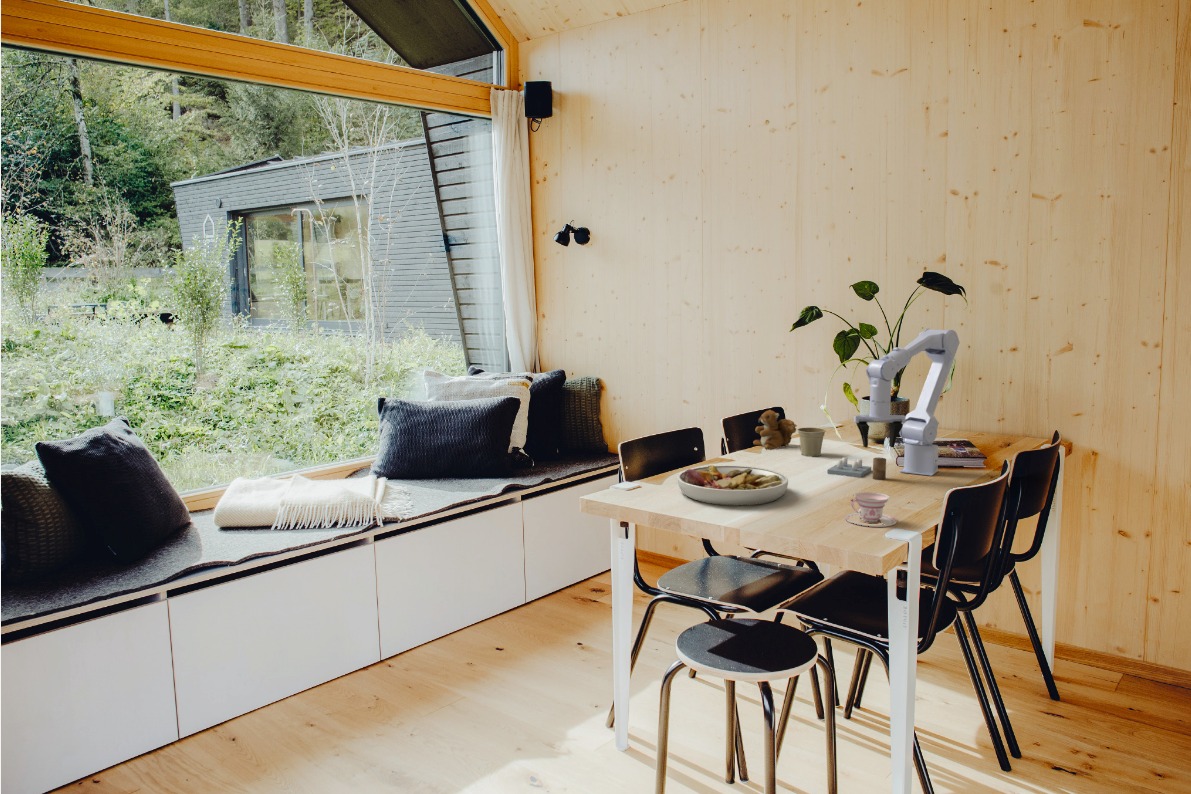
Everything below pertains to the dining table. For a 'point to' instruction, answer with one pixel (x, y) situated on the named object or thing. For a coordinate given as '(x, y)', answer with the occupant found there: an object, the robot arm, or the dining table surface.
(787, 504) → the dining table surface
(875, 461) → the walnut pin
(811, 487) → the dining table surface
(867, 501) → the teacup
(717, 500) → the bowl
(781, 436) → the stuffed squirrel
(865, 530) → the dining table surface
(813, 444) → the flower pot
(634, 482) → the dining table surface
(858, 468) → the peg pad
